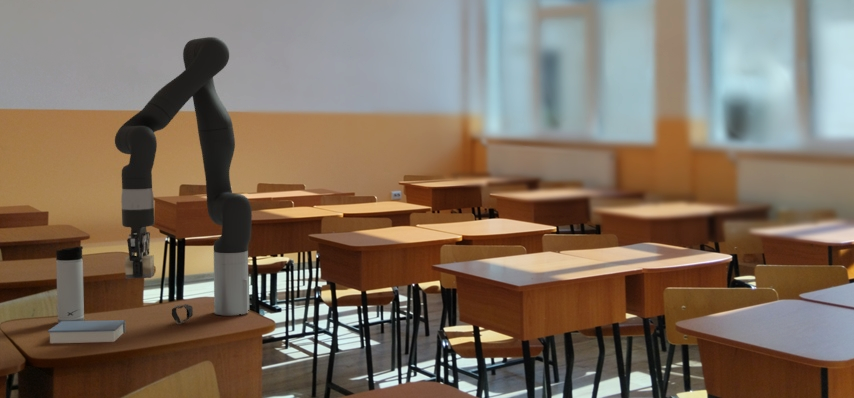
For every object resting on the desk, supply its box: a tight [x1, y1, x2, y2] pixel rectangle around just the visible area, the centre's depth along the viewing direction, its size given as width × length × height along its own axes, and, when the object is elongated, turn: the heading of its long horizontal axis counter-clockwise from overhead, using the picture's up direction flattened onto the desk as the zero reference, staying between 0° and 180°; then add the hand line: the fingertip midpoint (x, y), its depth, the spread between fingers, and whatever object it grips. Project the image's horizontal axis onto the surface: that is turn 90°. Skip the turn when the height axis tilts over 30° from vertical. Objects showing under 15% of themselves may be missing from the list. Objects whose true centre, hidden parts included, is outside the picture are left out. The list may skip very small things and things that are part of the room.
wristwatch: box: [171, 303, 194, 325], centre depth 209 cm, size 3×5×5 cm, turn 77°
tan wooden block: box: [124, 254, 155, 280], centre depth 199 cm, size 6×4×5 cm, turn 98°
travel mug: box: [55, 245, 85, 324], centre depth 208 cm, size 6×7×20 cm
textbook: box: [47, 319, 126, 344], centre depth 193 cm, size 15×10×4 cm, turn 97°
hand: (140, 275), depth 199 cm, fingers closed on tan wooden block, 4 cm apart
